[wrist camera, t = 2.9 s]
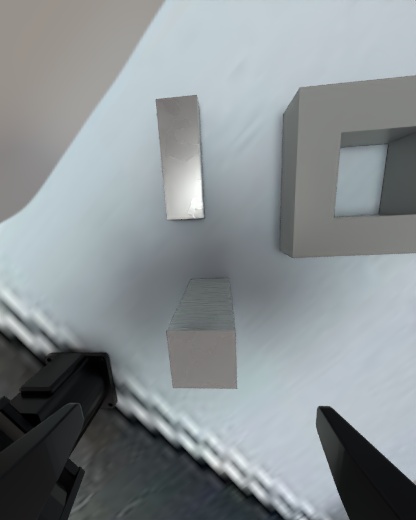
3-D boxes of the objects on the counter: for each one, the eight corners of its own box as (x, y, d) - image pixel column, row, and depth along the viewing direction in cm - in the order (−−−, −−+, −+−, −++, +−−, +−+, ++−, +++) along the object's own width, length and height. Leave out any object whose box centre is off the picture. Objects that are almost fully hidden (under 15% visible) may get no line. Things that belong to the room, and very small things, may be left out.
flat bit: (205, 217, 16) (203, 217, 15) (172, 219, 17) (166, 219, 15) (199, 109, 15) (196, 95, 13) (163, 112, 15) (155, 99, 13)
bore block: (407, 244, 15) (451, 251, 12) (279, 250, 16) (292, 257, 13) (433, 99, 13) (493, 67, 10) (283, 114, 14) (299, 87, 11)
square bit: (230, 312, 18) (237, 388, 10) (193, 313, 18) (172, 387, 10) (229, 277, 17) (235, 330, 9) (190, 279, 17) (166, 331, 10)
